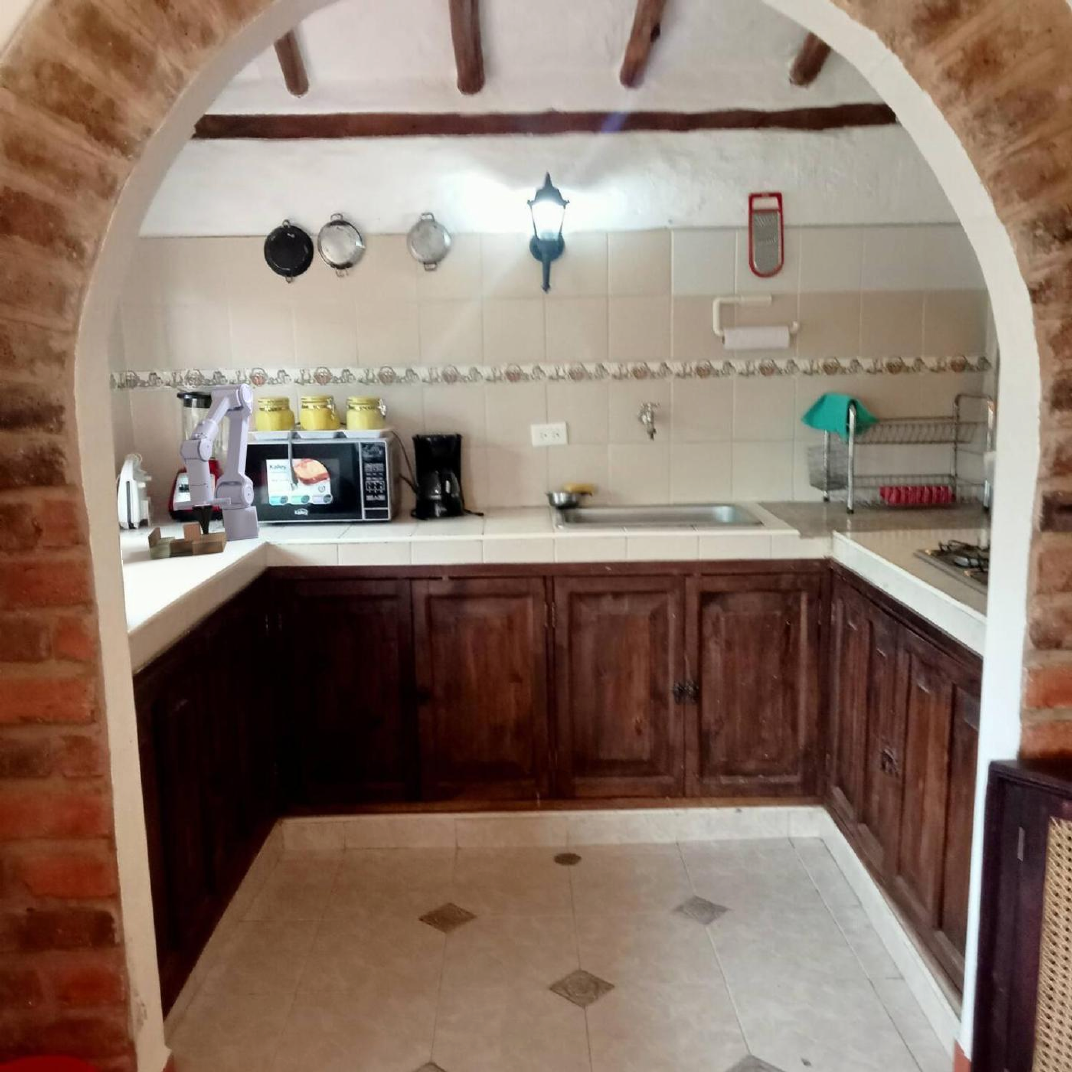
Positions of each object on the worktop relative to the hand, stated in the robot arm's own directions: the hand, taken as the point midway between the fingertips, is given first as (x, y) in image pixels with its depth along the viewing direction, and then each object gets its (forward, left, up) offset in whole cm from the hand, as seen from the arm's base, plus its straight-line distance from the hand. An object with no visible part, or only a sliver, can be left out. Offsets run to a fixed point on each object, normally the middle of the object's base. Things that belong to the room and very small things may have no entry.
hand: (206, 534), depth 255 cm
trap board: (+4, 0, -4) cm, 6 cm away
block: (+3, 0, -1) cm, 4 cm away
